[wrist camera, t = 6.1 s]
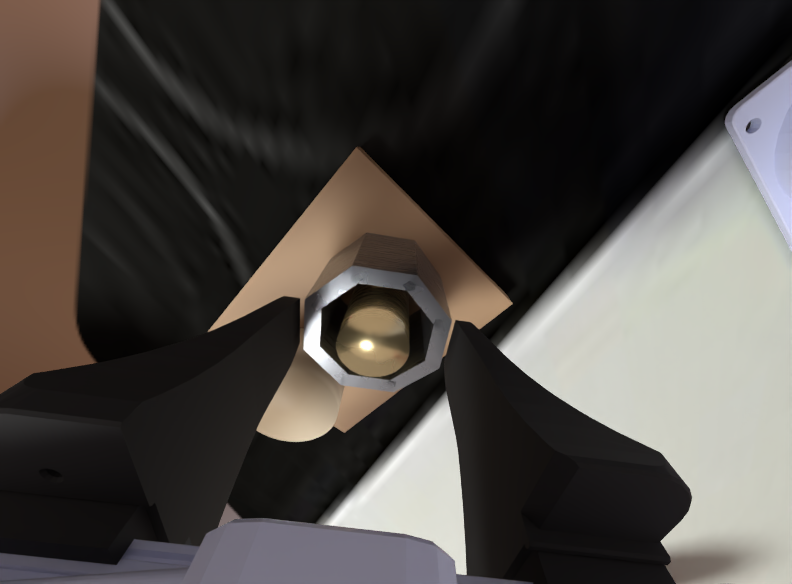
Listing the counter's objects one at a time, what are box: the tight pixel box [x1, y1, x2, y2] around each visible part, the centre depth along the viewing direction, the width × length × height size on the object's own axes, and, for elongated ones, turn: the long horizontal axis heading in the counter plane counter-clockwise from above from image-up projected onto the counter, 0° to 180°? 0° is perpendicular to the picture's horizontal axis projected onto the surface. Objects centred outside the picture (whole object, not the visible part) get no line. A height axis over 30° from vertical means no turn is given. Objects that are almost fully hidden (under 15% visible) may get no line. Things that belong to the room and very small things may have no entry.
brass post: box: [336, 283, 410, 377], centre depth 13 cm, size 3×3×4 cm
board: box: [208, 147, 513, 442], centre depth 15 cm, size 10×13×4 cm
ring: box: [303, 232, 452, 392], centre depth 13 cm, size 5×5×4 cm
